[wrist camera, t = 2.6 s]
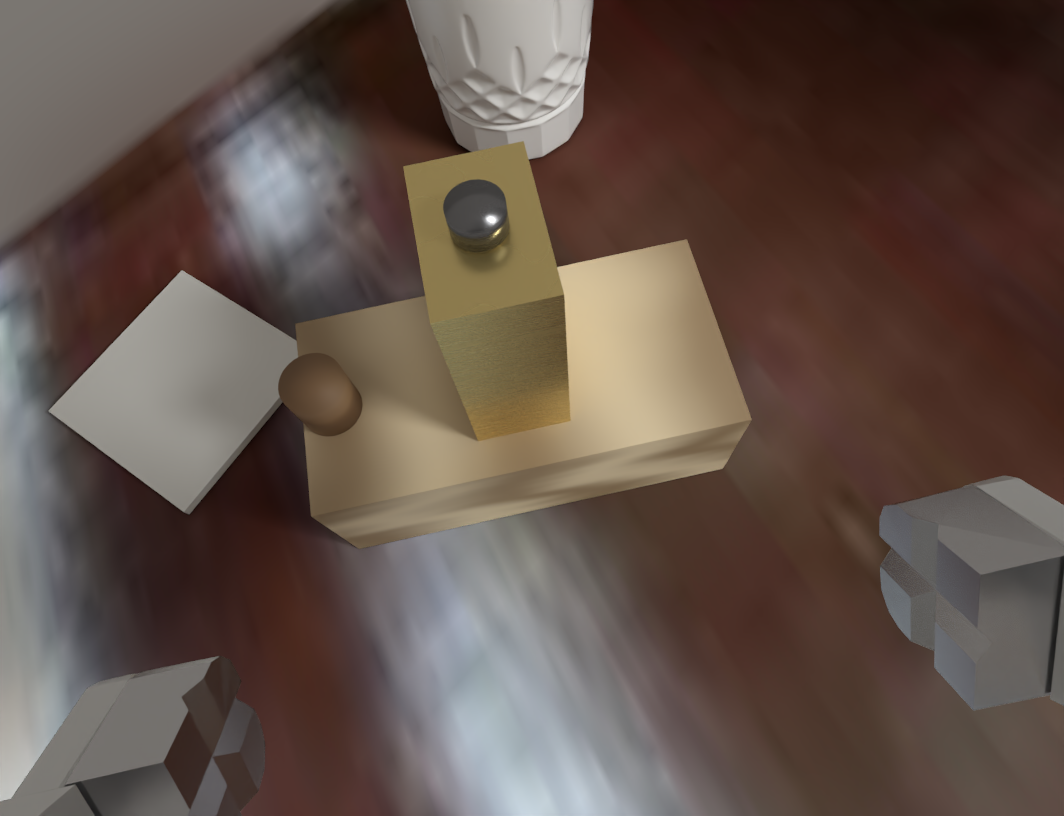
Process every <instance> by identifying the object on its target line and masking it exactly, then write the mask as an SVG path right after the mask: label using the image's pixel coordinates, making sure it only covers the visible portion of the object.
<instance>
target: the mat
mask: <svg viewBox="0 0 1064 816" xmlns="http://www.w3.org/2000/svg"><path fill="white" fill-rule="evenodd" d="M296 358H298V351H297V341H296V340H295V339H293V338H291V337H290V336H288V335H286V334H285V333H283V332H282V331H280V330H278V329H277V328H275V327H273V326H272V325H270V324H269V323H267V322H265V321H264V320H262V319H260V318H259V317H257V316H256V315H254V314H252V313H251V312H249V311H247V310H246V309H244V308H243V307H241V306H239V305H238V304H236V303H234V302H233V301H231V300H230V299H228V298H226V297H225V296H223V295H221V294H220V293H218V292H217V291H215V290H213V289H212V288H210V287H208V286H207V285H205V284H204V283H202V282H200V281H199V280H197V279H195V278H194V277H192V276H191V275H189V274H187V273H186V272H184V271H181V272H180V273H179V274H178V275H177V276H176V277H175V278H174V279H173V280H172V281H171V282H170V283H169V284H168V285H167V286H166V287H165V289H164V290H163V291H162V292H161V293H160V294H159V295H158V296H157V297H156V298H155V299H154V300H153V301H152V302H151V303H150V304H149V305H148V306H147V307H146V309H145V310H144V311H143V312H142V313H141V314H140V315H139V316H138V317H137V318H136V319H135V320H134V321H133V322H132V323H131V324H130V325H129V326H128V327H127V329H126V330H125V331H124V332H123V333H122V334H121V335H120V336H119V337H118V338H117V339H116V340H115V341H114V342H113V343H112V344H111V345H110V346H109V347H108V349H107V350H106V351H105V352H104V353H103V354H102V355H101V356H100V357H99V358H98V359H97V360H96V361H95V362H94V363H93V364H92V365H91V366H90V367H89V369H88V370H87V371H86V372H85V373H84V374H83V375H82V376H81V377H80V378H79V379H78V380H77V381H76V382H75V383H74V384H73V385H72V386H71V388H70V389H69V390H68V391H67V392H66V393H65V394H64V395H63V396H62V397H61V398H60V399H59V400H58V401H57V402H56V403H55V404H54V405H53V406H52V408H51V409H50V410H49V412H50V413H52V414H53V415H54V416H56V417H57V418H58V419H60V420H61V421H62V422H64V423H65V424H66V425H68V426H69V427H70V428H72V429H73V430H74V431H76V432H77V433H78V434H80V435H81V436H82V437H84V438H85V439H86V440H88V441H89V442H90V443H92V444H93V445H94V446H96V447H97V448H98V449H100V450H101V451H102V452H104V453H105V454H106V455H108V456H109V457H110V458H112V459H113V460H115V461H116V462H117V463H119V464H120V465H121V466H123V467H124V468H125V469H127V470H128V471H129V472H131V473H132V474H133V475H135V476H136V477H137V478H139V479H140V480H141V481H143V482H144V483H145V484H147V485H148V486H149V487H151V488H152V489H153V490H155V491H156V492H157V493H159V494H160V495H161V496H163V497H164V498H165V499H167V500H168V501H169V502H171V503H172V504H173V505H175V506H176V507H178V508H179V509H180V510H182V511H183V512H184V513H187V514H190V513H191V512H192V511H193V510H194V508H195V507H196V506H197V505H198V503H199V502H200V501H201V500H202V499H203V497H204V496H205V495H206V494H207V493H208V491H209V490H210V489H211V488H212V487H213V485H214V484H215V483H216V482H217V481H218V479H219V478H220V477H221V476H222V475H223V473H224V472H225V471H226V470H227V469H228V467H229V466H230V465H231V464H232V463H233V461H234V460H235V459H236V458H237V457H238V455H239V454H240V453H241V452H242V451H243V449H244V448H245V447H246V446H247V444H248V443H249V442H250V441H251V440H252V438H253V437H254V436H255V435H256V434H257V432H258V431H259V430H260V429H261V428H262V426H263V425H264V424H265V423H266V422H267V420H268V419H269V418H270V417H271V416H272V414H273V413H274V412H275V411H276V410H277V408H278V407H279V406H280V405H281V404H282V400H281V398H280V396H279V392H278V383H279V379H280V376H281V374H282V372H283V370H284V369H285V368H286V366H287V365H288V364H289V363H290V362H292V361H293V360H294V359H296Z"/></svg>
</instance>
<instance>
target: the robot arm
mask: <svg viewBox="0 0 1064 816" xmlns="http://www.w3.org/2000/svg"><path fill="white" fill-rule="evenodd" d="M880 536H881V537H882V538H883V539H884V540H885V541H886V542H887V543H888V544H889V545H890V546H891V547H892V549H891V550H890V552H889V553H888V555H887V556H886V558H885V559H884V561H883V562H882V564H881V565H880V574H881V589H882V592H883V595H884V598H885V601H886V604H887V607H888V610H889V612H890V614H891V615H892V617H893V619H894V620H895V622H896V624H897V626H898V627H899V628H900V629H901V630H902V632H903V633H904V634H905V635H906V636H907V637H908V638H909V640H910V641H912V642H914V643H917V644H919V645H922V646H924V647H926V648H929V649H931V650H934V651H935V669H936V670H937V671H938V672H939V673H940V674H941V675H942V676H943V677H944V679H945V680H946V681H947V682H948V683H949V684H950V685H951V686H952V687H953V688H954V689H955V691H956V692H957V693H958V694H959V695H960V696H961V697H962V698H963V699H964V700H965V702H966V703H967V704H968V705H969V706H970V707H971V708H972V709H973V710H978V709H983V708H988V707H993V706H998V705H1003V704H1008V703H1013V702H1018V701H1023V700H1028V699H1033V698H1038V697H1042V696H1047V695H1051V696H1050V699H1051V700H1053V701H1055V702H1057V703H1059V704H1061V705H1063V706H1064V505H1062V504H1061V503H1059V502H1057V501H1056V500H1054V499H1052V498H1051V497H1049V496H1047V495H1046V494H1044V493H1042V492H1041V491H1039V490H1037V489H1036V488H1034V487H1032V486H1031V485H1029V484H1027V483H1026V482H1024V481H1022V480H1021V479H1019V478H1015V477H1010V476H1000V477H996V478H993V479H989V480H985V481H981V482H977V483H973V484H969V485H966V486H964V487H962V488H958V489H954V490H950V491H946V492H941V493H937V494H933V495H929V496H925V497H920V498H916V499H912V500H908V501H903V502H899V503H895V504H891V505H887V506H884V508H883V510H882V513H881V516H880ZM240 684H241V679H240V677H239V675H238V673H237V671H236V670H235V668H234V666H233V664H232V662H231V660H229V659H227V658H224V657H222V656H217V657H212V658H207V659H202V660H197V661H193V662H188V663H183V664H178V665H173V666H168V667H163V668H158V669H154V670H149V671H144V672H140V673H139V674H130V675H125V676H121V677H117V678H112V679H108V680H103V681H100V682H98V683H96V684H94V685H92V686H90V687H88V688H87V689H86V690H85V692H84V693H83V695H82V696H81V697H80V699H79V700H78V702H77V703H76V705H75V706H74V708H73V709H72V711H71V712H70V714H69V715H68V716H67V718H66V719H65V721H64V722H63V724H62V725H61V727H60V728H59V730H58V731H57V733H56V734H55V735H54V737H53V738H52V740H51V741H50V743H49V744H48V746H47V747H46V749H45V750H44V752H43V753H42V754H41V756H40V757H39V759H38V760H37V762H36V763H35V765H34V766H33V768H32V769H31V771H30V772H29V773H28V775H27V776H26V778H25V779H24V781H23V782H22V784H21V785H20V787H19V788H18V789H17V791H16V792H15V794H14V795H13V797H12V798H11V799H9V800H5V801H1V802H0V816H242V815H241V813H240V811H241V810H242V809H243V808H244V807H245V805H246V804H247V803H248V802H249V801H250V800H251V799H252V798H253V797H254V796H255V794H256V793H257V792H258V790H259V787H260V783H261V780H262V776H263V772H264V765H265V741H264V736H263V731H262V727H261V723H260V721H259V719H258V716H257V714H256V712H255V710H254V709H253V708H252V707H250V706H248V705H247V704H245V703H243V702H241V701H240V700H238V699H236V698H235V697H236V694H237V692H238V689H239V686H240Z"/></svg>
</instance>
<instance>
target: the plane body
mask: <svg viewBox="0 0 1064 816" xmlns="http://www.w3.org/2000/svg"><path fill="white" fill-rule="evenodd" d="M557 269H558V273H559V277H560V281H561V284H562V288H563V292H564V300H565V319H566V339H567V359H568V379H569V398H570V418H571V421H569V422H564V423H559V424H555V425H550V426H546V427H541V428H537V429H532V430H527V431H523V432H518V433H514V434H509V435H505V436H500V437H495V438H491V439H486V440H482V441H478V439H477V437H476V434H475V432H474V430H473V427H472V425H471V422H470V420H469V417H468V415H467V412H466V410H465V408H464V405H463V403H462V400H461V398H460V395H459V393H458V390H457V388H456V386H455V383H454V381H453V378H452V376H451V373H450V371H449V369H448V366H447V364H446V361H445V359H444V356H443V354H442V351H441V349H440V347H439V344H438V342H437V339H436V337H435V334H434V332H433V329H432V327H431V325H430V320H429V314H428V308H427V302H426V297H425V296H422V297H417V298H412V299H408V300H403V301H399V302H394V303H389V304H385V305H380V306H375V307H371V308H366V309H361V310H357V311H352V312H347V313H343V314H338V315H334V316H329V317H324V318H320V319H315V320H310V321H306V322H301V323H296V324H295V327H296V339H297V351H298V358H296V359H294V360H293V361H292V362H290V363H289V364H288V365H287V366H286V368H285V369H284V370H283V372H282V374H281V376H280V379H279V383H278V392H279V396H280V398H281V400H282V402H283V403H284V404H285V405H286V406H287V407H288V408H289V409H290V410H291V411H292V412H293V413H294V414H295V415H296V416H297V417H298V418H299V419H300V420H301V421H302V422H303V425H304V437H305V449H306V461H307V473H308V486H309V498H310V510H311V517H313V518H314V519H315V520H317V521H318V522H320V523H321V524H323V525H324V526H326V527H327V528H329V529H330V530H332V531H333V532H335V533H336V534H338V535H339V536H341V537H342V538H344V539H345V540H347V541H348V542H349V543H351V544H352V545H354V546H355V547H357V548H358V549H361V548H366V547H370V546H375V545H380V544H384V543H389V542H393V541H398V540H402V539H407V538H411V537H416V536H420V535H425V534H429V533H434V532H438V531H443V530H447V529H452V528H456V527H461V526H466V525H470V524H475V523H479V522H484V521H488V520H493V519H497V518H502V517H506V516H511V515H515V514H520V513H524V512H529V511H533V510H538V509H543V508H547V507H552V506H556V505H561V504H565V503H570V502H574V501H579V500H583V499H588V498H592V497H597V496H601V495H606V494H610V493H615V492H619V491H624V490H629V489H633V488H638V487H642V486H647V485H651V484H656V483H660V482H665V481H669V480H674V479H678V478H683V477H687V476H692V475H696V474H701V473H705V472H710V471H715V470H719V469H723V467H724V466H725V464H726V462H727V461H728V459H729V457H730V455H731V454H732V452H733V450H734V449H735V447H736V445H737V444H738V442H739V440H740V439H741V437H742V435H743V433H744V432H745V430H746V428H747V427H748V425H749V423H750V422H751V420H752V419H751V416H750V413H749V411H748V408H747V405H746V402H745V400H744V397H743V394H742V391H741V388H740V386H739V383H738V380H737V377H736V375H735V372H734V369H733V366H732V363H731V361H730V358H729V355H728V352H727V350H726V347H725V344H724V341H723V338H722V336H721V333H720V330H719V327H718V325H717V322H716V319H715V316H714V314H713V311H712V308H711V305H710V302H709V300H708V297H707V294H706V291H705V289H704V286H703V283H702V280H701V277H700V275H699V272H698V269H697V266H696V264H695V261H694V258H693V255H692V252H691V250H690V247H689V244H688V241H687V239H686V240H682V241H677V242H672V243H668V244H663V245H659V246H654V247H649V248H645V249H640V250H635V251H631V252H626V253H621V254H617V255H612V256H607V257H603V258H598V259H594V260H589V261H584V262H580V263H575V264H570V265H566V266H561V267H557Z"/></svg>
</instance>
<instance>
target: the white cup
mask: <svg viewBox="0 0 1064 816" xmlns="http://www.w3.org/2000/svg"><path fill="white" fill-rule="evenodd" d="M593 2H594V0H406V3H407V6H408V9H409V13H410V16H411V19H412V23H413V26H414V29H415V32H416V34H417V37H418V40H419V43H420V47H421V50H422V52H423V55H424V58H425V61H426V65H427V68H428V71H429V74H430V77H431V80H432V83H433V85H434V88H435V90H436V91H437V93H438V97H439V100H440V103H441V107H442V110H443V114H444V117H445V120H446V123H447V124H448V126H449V128H450V130H451V132H452V134H453V136H454V138H455V140H456V142H457V143H458V144H459V145H461V146H463V147H464V148H466V149H467V150H469V151H470V152H474V151H479V150H484V149H489V148H493V147H498V146H503V145H507V144H512V143H517V142H522V141H524V144H525V148H526V152H527V156H528V160H530V159H534V158H539V157H543V156H545V155H546V154H548V153H549V152H551V151H552V150H554V149H556V148H557V147H559V146H560V145H562V144H563V143H565V142H567V141H568V140H569V138H570V137H571V135H572V133H573V132H574V130H575V129H576V127H577V125H578V124H579V122H580V121H581V119H582V117H583V99H584V81H585V70H586V66H587V62H588V60H589V46H590V37H591V19H592V11H593Z"/></svg>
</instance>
